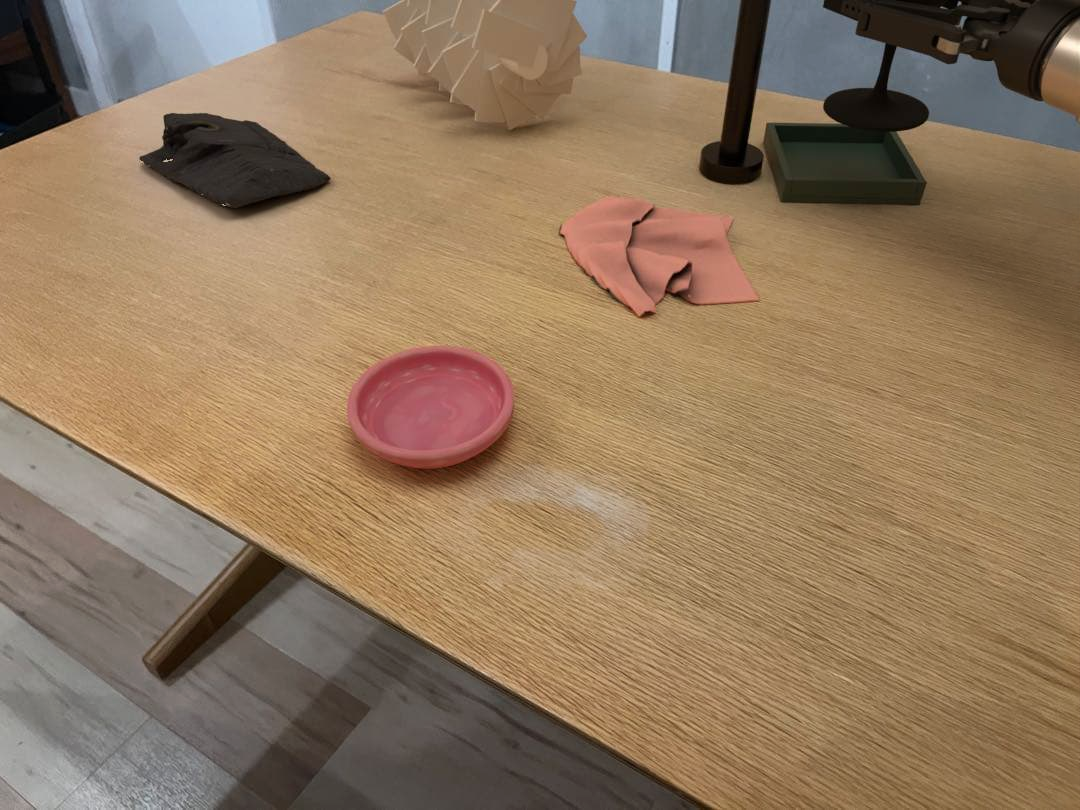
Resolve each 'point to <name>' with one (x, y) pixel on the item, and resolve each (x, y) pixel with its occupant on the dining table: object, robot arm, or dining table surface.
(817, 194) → the tray
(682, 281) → the cloth
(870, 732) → the dining table surface
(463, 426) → the saucer
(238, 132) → the folded black garment
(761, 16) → the post
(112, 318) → the dining table surface
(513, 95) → the spiral staircase
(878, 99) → the wine glass
